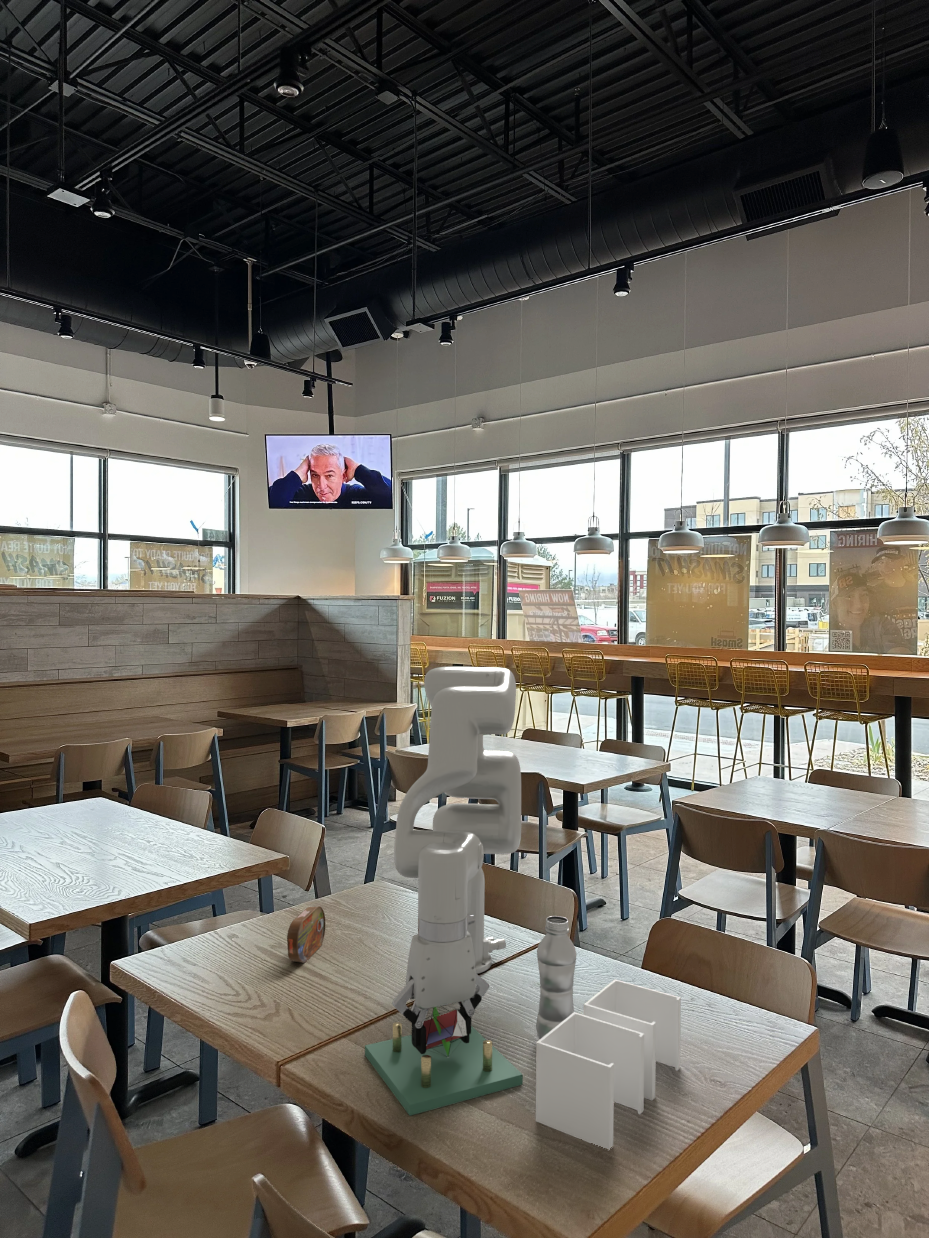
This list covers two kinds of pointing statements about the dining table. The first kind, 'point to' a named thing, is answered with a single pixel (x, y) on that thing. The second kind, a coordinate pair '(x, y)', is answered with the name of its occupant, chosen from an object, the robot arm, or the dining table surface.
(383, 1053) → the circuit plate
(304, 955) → the tin
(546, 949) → the plastic bottle
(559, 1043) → the white u-channel brackets
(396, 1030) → the brass standoffs
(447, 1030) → the geometric puzzle
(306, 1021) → the dining table surface
